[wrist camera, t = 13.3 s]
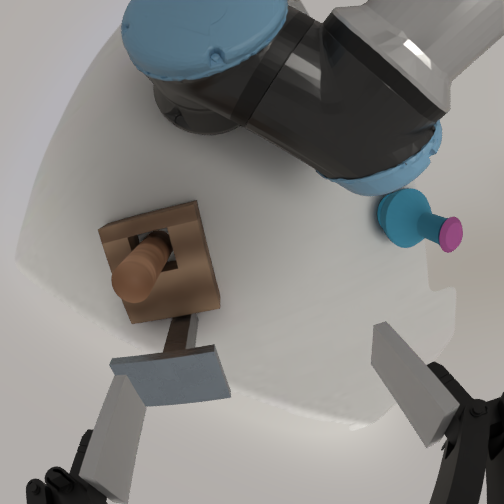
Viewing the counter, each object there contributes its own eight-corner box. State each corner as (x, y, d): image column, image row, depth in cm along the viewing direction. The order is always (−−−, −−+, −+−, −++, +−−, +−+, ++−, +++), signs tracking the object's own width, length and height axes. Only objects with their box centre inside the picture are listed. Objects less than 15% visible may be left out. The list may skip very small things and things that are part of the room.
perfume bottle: (419, 193, 41) (481, 210, 27) (405, 244, 44) (462, 275, 30) (378, 178, 40) (441, 189, 26) (364, 233, 42) (420, 266, 28)
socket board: (108, 223, 38) (97, 229, 34) (196, 200, 38) (193, 204, 34) (138, 311, 42) (131, 324, 39) (220, 295, 43) (220, 308, 39)
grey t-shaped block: (143, 295, 42) (109, 364, 25) (216, 281, 42) (214, 351, 26) (158, 332, 44) (135, 406, 28) (226, 319, 44) (230, 397, 28)
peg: (141, 233, 39) (105, 267, 26) (169, 227, 39) (143, 259, 26) (149, 261, 40) (119, 305, 27) (176, 255, 40) (156, 299, 27)
